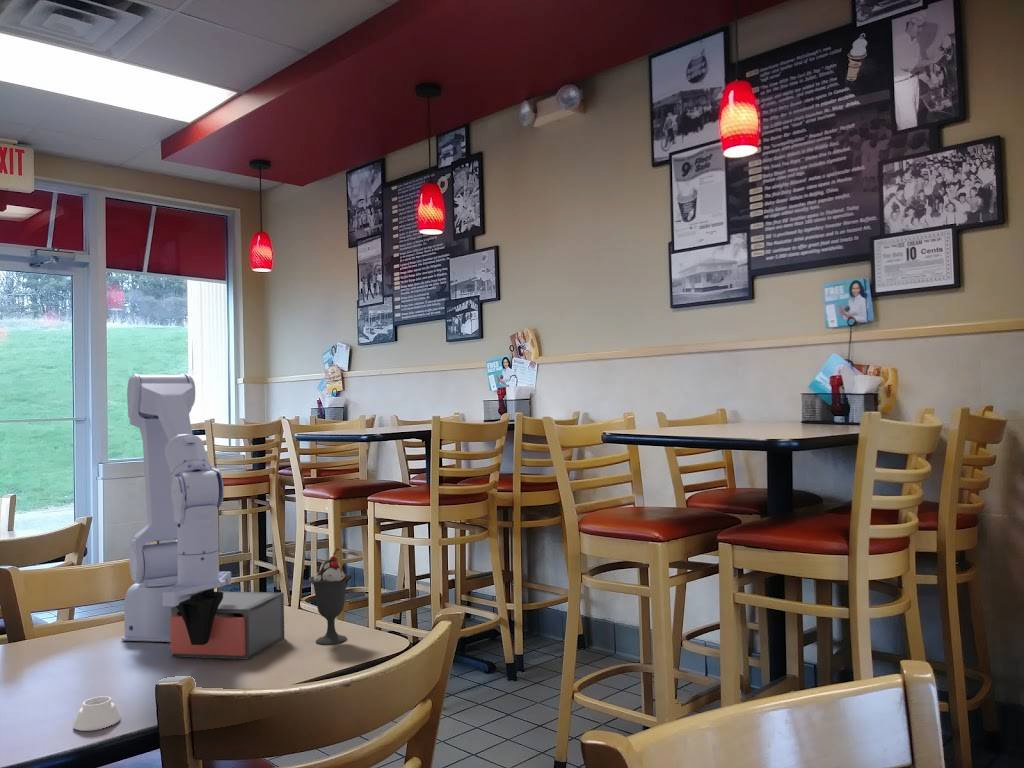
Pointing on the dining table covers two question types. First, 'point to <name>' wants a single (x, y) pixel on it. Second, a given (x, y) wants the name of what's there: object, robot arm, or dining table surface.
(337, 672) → the dining table surface
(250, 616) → the housing
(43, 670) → the dining table surface
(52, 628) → the dining table surface
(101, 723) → the white jar
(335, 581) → the sundae
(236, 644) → the red drawer
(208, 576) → the robot arm
